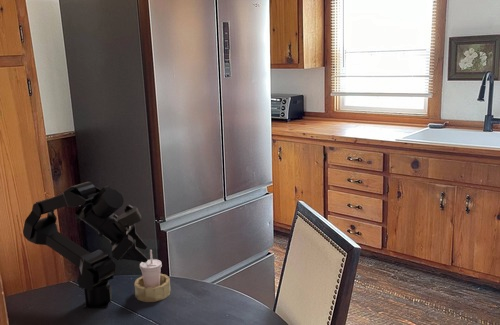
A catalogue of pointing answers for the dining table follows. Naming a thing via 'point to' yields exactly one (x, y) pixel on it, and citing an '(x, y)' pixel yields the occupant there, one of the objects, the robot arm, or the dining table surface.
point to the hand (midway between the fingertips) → (146, 254)
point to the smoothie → (151, 272)
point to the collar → (152, 290)
